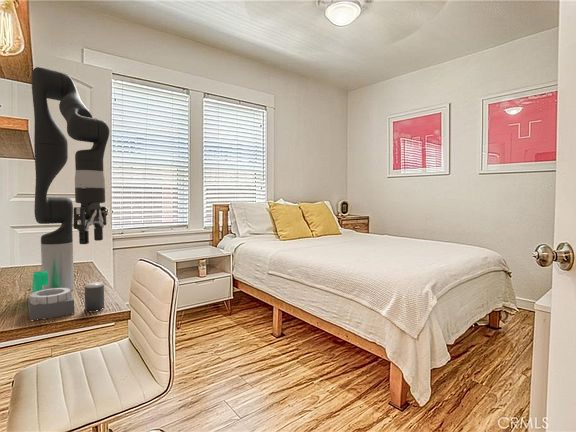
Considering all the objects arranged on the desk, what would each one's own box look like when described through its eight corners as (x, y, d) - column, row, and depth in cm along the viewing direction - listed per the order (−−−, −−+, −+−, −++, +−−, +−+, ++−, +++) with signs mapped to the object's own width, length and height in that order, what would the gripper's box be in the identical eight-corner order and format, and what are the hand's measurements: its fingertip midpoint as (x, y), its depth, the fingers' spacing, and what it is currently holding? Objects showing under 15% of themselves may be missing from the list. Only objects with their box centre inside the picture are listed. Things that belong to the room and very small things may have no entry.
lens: (89, 307, 101) (88, 282, 101) (106, 306, 102) (106, 281, 102) (82, 312, 96) (81, 286, 96) (100, 311, 97) (100, 286, 97)
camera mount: (67, 304, 104) (67, 272, 104) (37, 309, 99) (36, 275, 98) (60, 296, 113) (59, 266, 112) (32, 300, 108) (31, 269, 107)
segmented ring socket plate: (28, 311, 97) (27, 291, 96) (69, 305, 103) (68, 285, 103) (30, 321, 89) (29, 299, 89) (74, 313, 95) (73, 293, 95)
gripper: (88, 187, 103) (90, 239, 104) (62, 185, 89) (64, 245, 90) (114, 187, 104) (115, 239, 105) (91, 185, 90) (93, 245, 91)
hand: (91, 242), depth 97 cm, fingers open, 8 cm apart
